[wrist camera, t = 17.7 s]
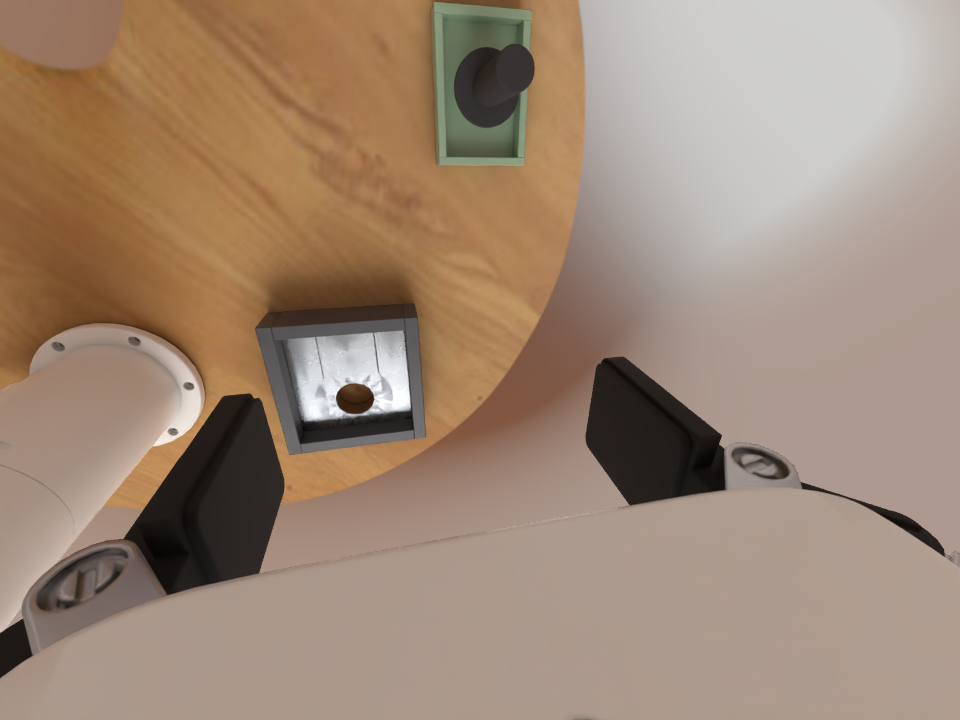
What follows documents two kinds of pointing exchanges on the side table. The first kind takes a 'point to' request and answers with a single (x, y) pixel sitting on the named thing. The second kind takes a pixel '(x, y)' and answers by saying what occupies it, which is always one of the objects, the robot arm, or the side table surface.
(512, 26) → the soap tray
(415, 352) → the sink basin
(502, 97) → the plug
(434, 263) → the side table surface
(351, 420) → the plate
